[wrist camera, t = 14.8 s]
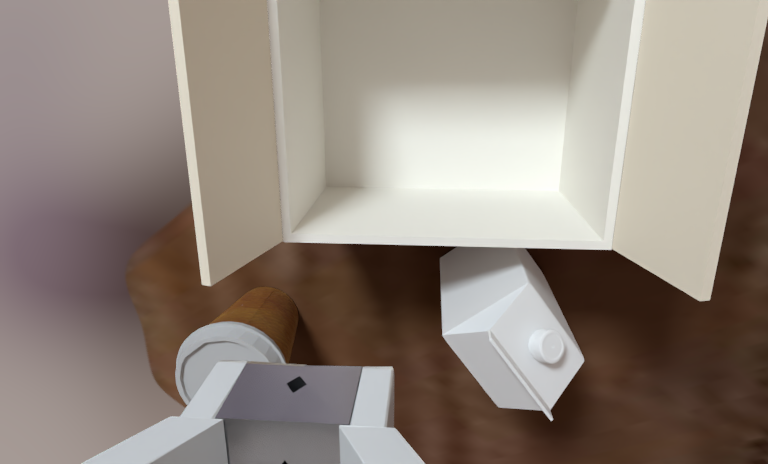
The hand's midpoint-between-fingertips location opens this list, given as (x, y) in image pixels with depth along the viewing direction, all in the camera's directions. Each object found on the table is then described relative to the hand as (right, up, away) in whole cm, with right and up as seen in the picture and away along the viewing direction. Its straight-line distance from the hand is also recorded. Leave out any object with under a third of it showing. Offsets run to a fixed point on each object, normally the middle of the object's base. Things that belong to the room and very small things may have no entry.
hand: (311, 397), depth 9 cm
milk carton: (+11, 0, +43) cm, 44 cm away
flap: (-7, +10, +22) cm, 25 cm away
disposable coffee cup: (-10, -5, +47) cm, 48 cm away
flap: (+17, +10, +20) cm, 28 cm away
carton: (+6, +16, +38) cm, 41 cm away
